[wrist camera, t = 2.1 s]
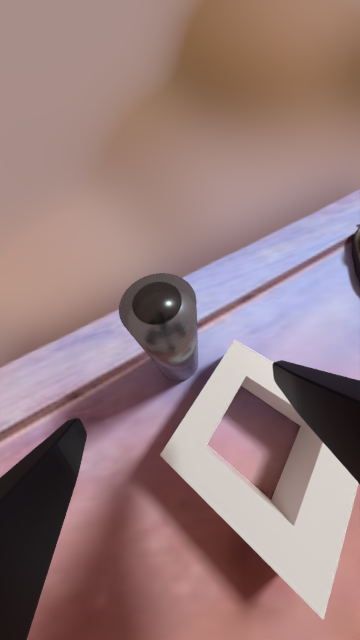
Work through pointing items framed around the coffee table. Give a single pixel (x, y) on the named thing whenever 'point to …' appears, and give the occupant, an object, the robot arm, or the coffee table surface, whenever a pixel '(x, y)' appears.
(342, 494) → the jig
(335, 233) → the coffee table surface
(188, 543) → the coffee table surface
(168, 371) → the bushing
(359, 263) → the salad plate
